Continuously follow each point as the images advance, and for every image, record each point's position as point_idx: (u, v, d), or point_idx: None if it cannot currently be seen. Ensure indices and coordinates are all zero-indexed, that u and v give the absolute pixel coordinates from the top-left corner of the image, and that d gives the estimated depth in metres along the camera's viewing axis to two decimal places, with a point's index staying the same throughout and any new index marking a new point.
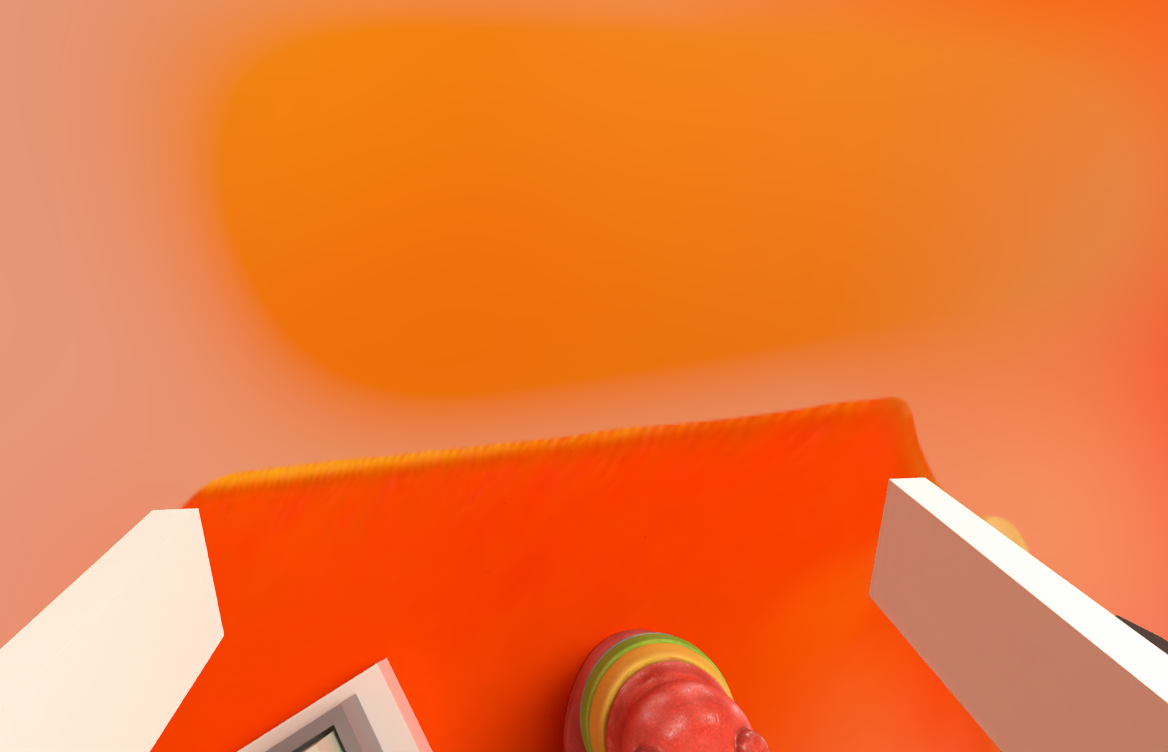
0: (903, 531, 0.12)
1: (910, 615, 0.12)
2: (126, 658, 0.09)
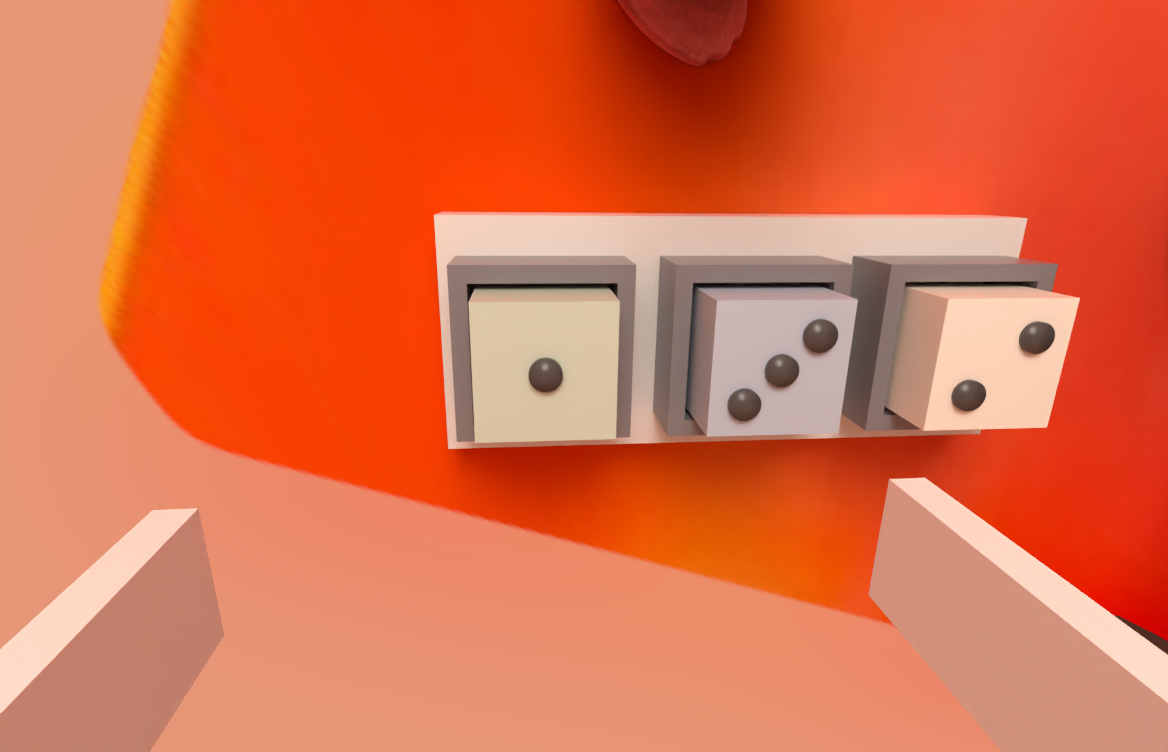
0: (903, 531, 0.12)
1: (910, 616, 0.12)
2: (126, 658, 0.09)
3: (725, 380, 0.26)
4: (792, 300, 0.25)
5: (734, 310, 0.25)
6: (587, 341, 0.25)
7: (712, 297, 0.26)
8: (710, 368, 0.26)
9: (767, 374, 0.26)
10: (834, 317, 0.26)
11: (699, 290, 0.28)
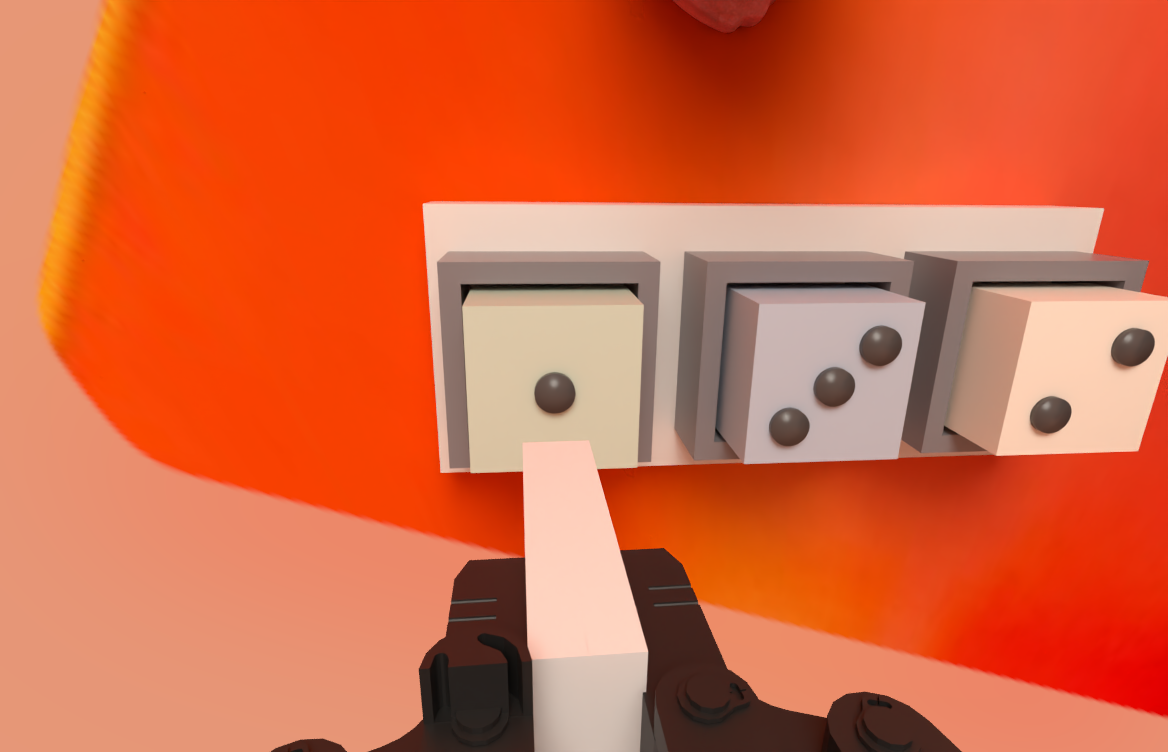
0: None
1: None
2: None
3: (767, 398, 0.22)
4: (848, 303, 0.21)
5: (780, 315, 0.21)
6: (604, 353, 0.21)
7: (752, 300, 0.22)
8: (749, 384, 0.22)
9: (817, 391, 0.22)
10: (897, 324, 0.22)
11: (734, 291, 0.24)
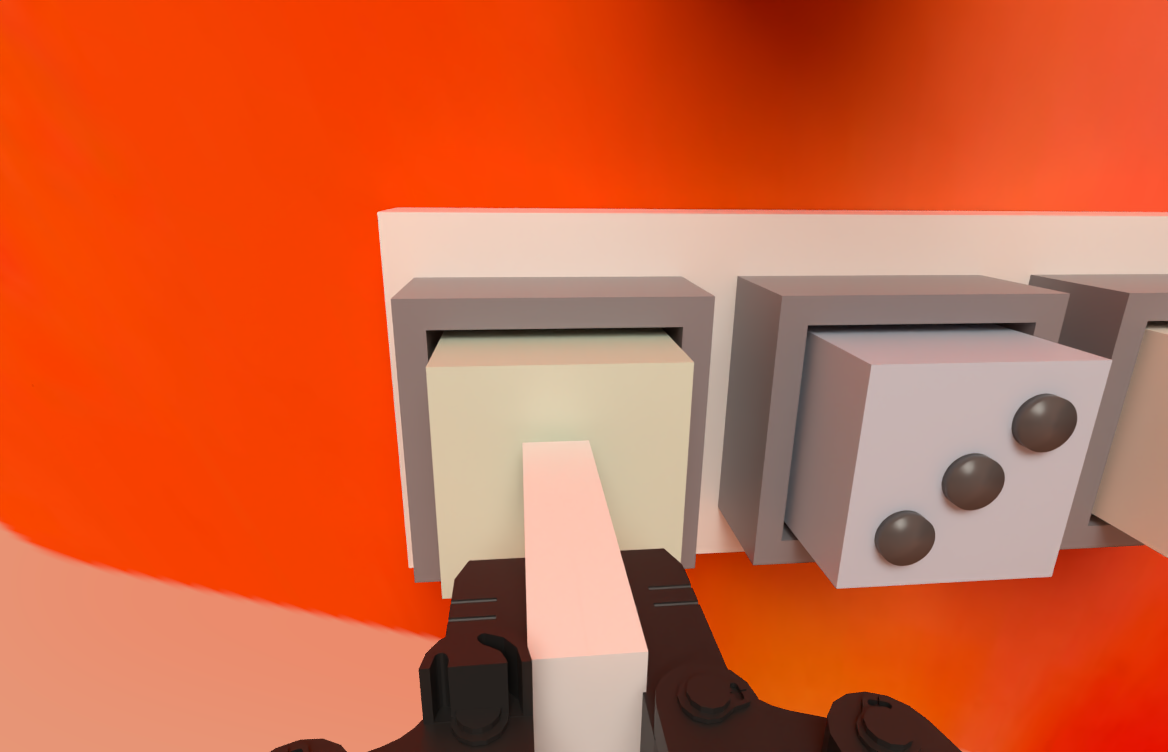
0: None
1: None
2: None
3: (874, 498, 0.15)
4: (1000, 362, 0.14)
5: (900, 381, 0.14)
6: (636, 431, 0.14)
7: (855, 356, 0.15)
8: (849, 477, 0.15)
9: (949, 489, 0.15)
10: (1068, 391, 0.15)
11: (817, 337, 0.17)
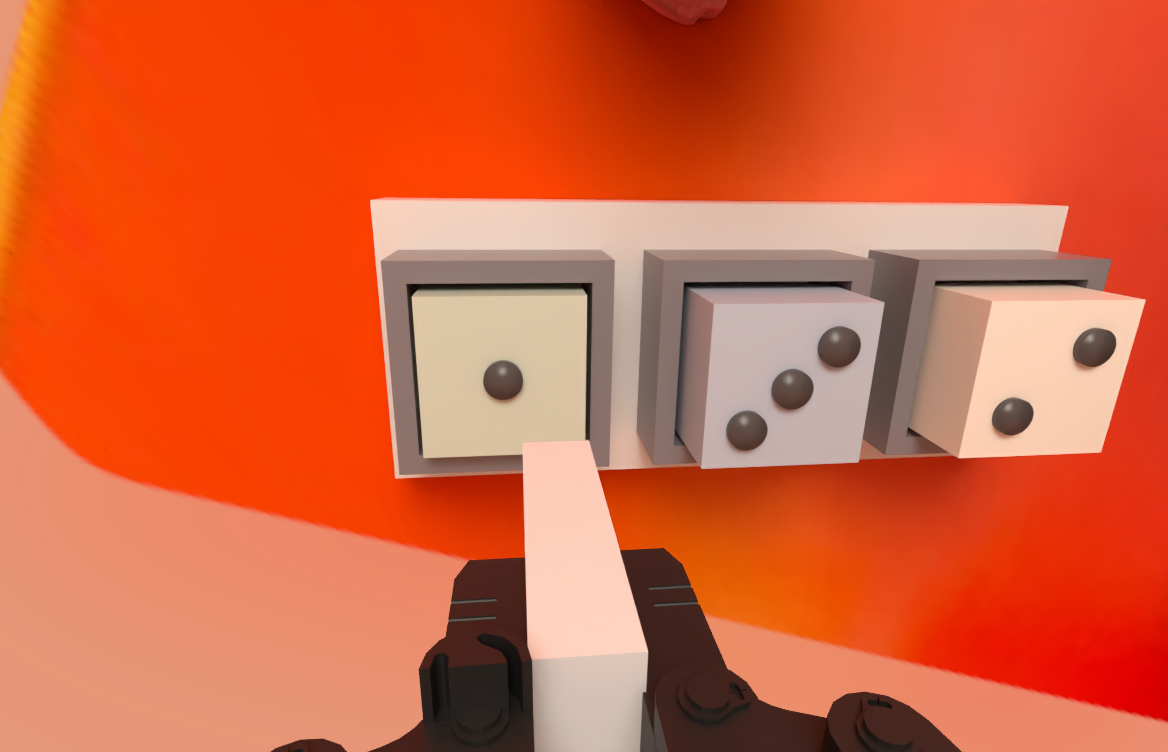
0: None
1: None
2: None
3: (723, 401, 0.21)
4: (805, 303, 0.21)
5: (735, 316, 0.21)
6: (550, 341, 0.22)
7: (707, 300, 0.21)
8: (705, 386, 0.21)
9: (775, 394, 0.21)
10: (855, 324, 0.21)
11: (691, 291, 0.23)
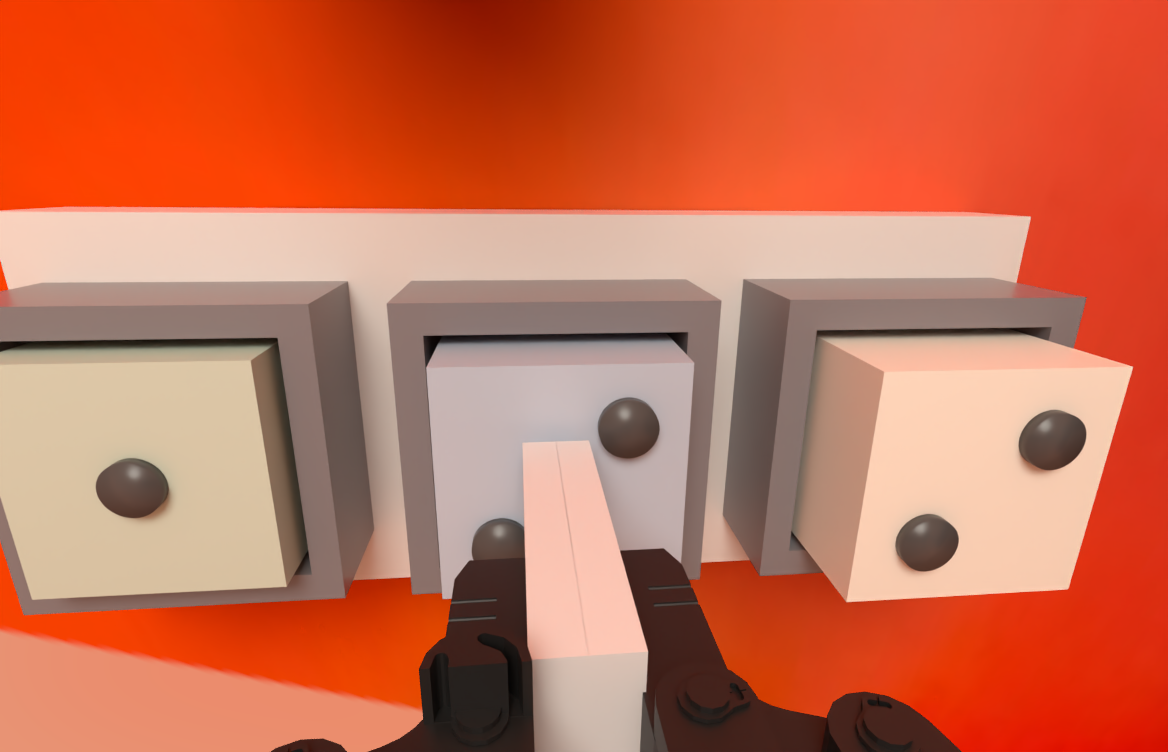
0: None
1: None
2: None
3: (462, 506, 0.15)
4: (571, 365, 0.14)
5: (462, 385, 0.14)
6: (203, 430, 0.14)
7: (432, 358, 0.14)
8: (436, 484, 0.15)
9: None
10: (652, 395, 0.14)
11: None
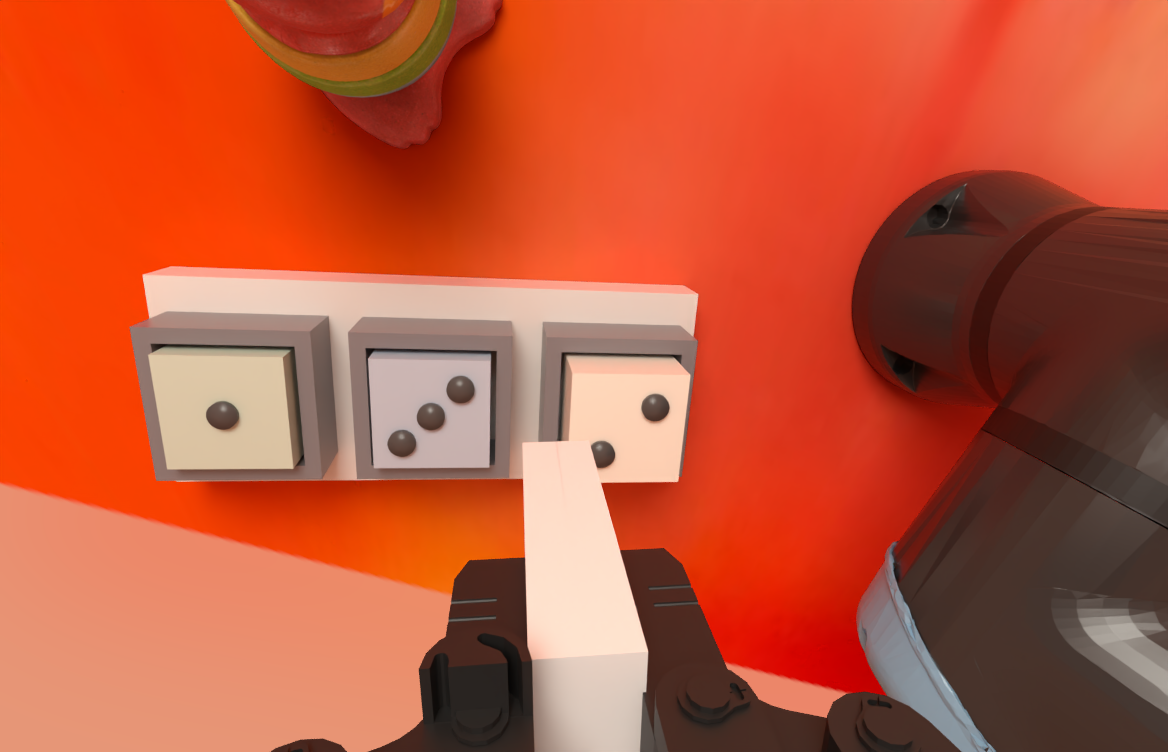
0: None
1: None
2: None
3: (384, 423, 0.32)
4: (434, 360, 0.31)
5: (384, 367, 0.31)
6: (258, 389, 0.30)
7: (371, 354, 0.31)
8: (371, 412, 0.32)
9: (417, 419, 0.32)
10: (472, 375, 0.31)
11: None
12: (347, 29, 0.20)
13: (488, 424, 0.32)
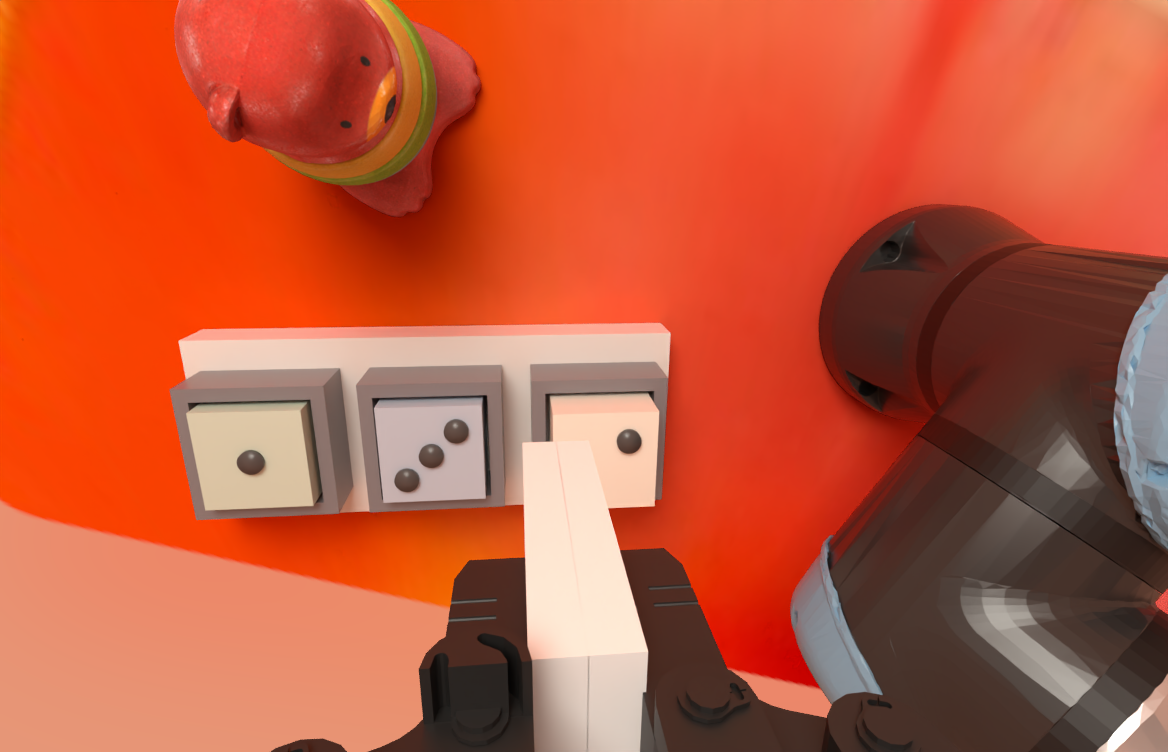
0: None
1: None
2: None
3: (390, 463, 0.36)
4: (432, 406, 0.35)
5: (388, 414, 0.35)
6: (280, 438, 0.35)
7: (377, 403, 0.35)
8: (379, 454, 0.36)
9: (419, 459, 0.36)
10: (465, 418, 0.35)
11: None
12: (338, 154, 0.24)
13: (482, 460, 0.36)
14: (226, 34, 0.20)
